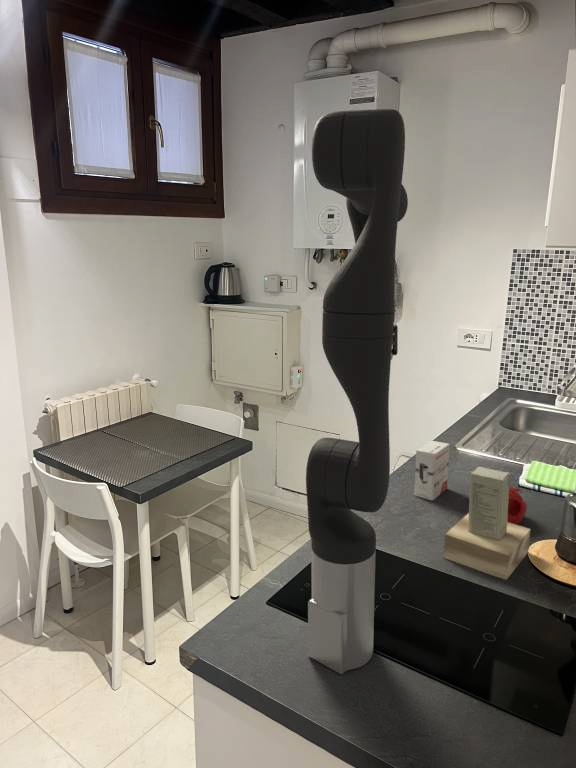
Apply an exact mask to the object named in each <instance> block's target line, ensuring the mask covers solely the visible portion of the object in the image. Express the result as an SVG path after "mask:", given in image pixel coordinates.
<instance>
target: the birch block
mask: <svg viewBox="0 0 576 768" xmlns="http://www.w3.org/2000/svg"><path fill="white" fill-rule="evenodd" d="M468 524H469V512H468V513H466V515H464V516H463V518H461V519H460V520H459V521H458V522H457V523H456V524H455V525H454V526H452V528H450V529H449V530H448V531H447V532H446V533H445V534H444V548H443V549H444V550H443V558H444V559H446V560H449V561H453V562H455V563H457V564H459V565H463V566H466V567H468V568H471V569H474V570H477V571H479V572H483V573H485V574H488V575H491V576H494V577H496V578H499V579H501V580H504V581H507V580H508V578H509V577H511V575H512V573H514V571H515V570H516V569H517V567H518V566H519V565H520V564H521V562H522V561H523V560H524V558H525V557H526V556H527V554H528V553H529V547H530V541H531V540H530V537H531V528H529V527H525V526H522V525H519V524H516V525H515V524H512V523H509V522H507V531H506V533H505V534H504V536H503V537H502V538H501V539H500V540H497V539H493V538H489V537H486V536H482V535H479V534H475V533H472V532H469V531H468Z"/></svg>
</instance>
